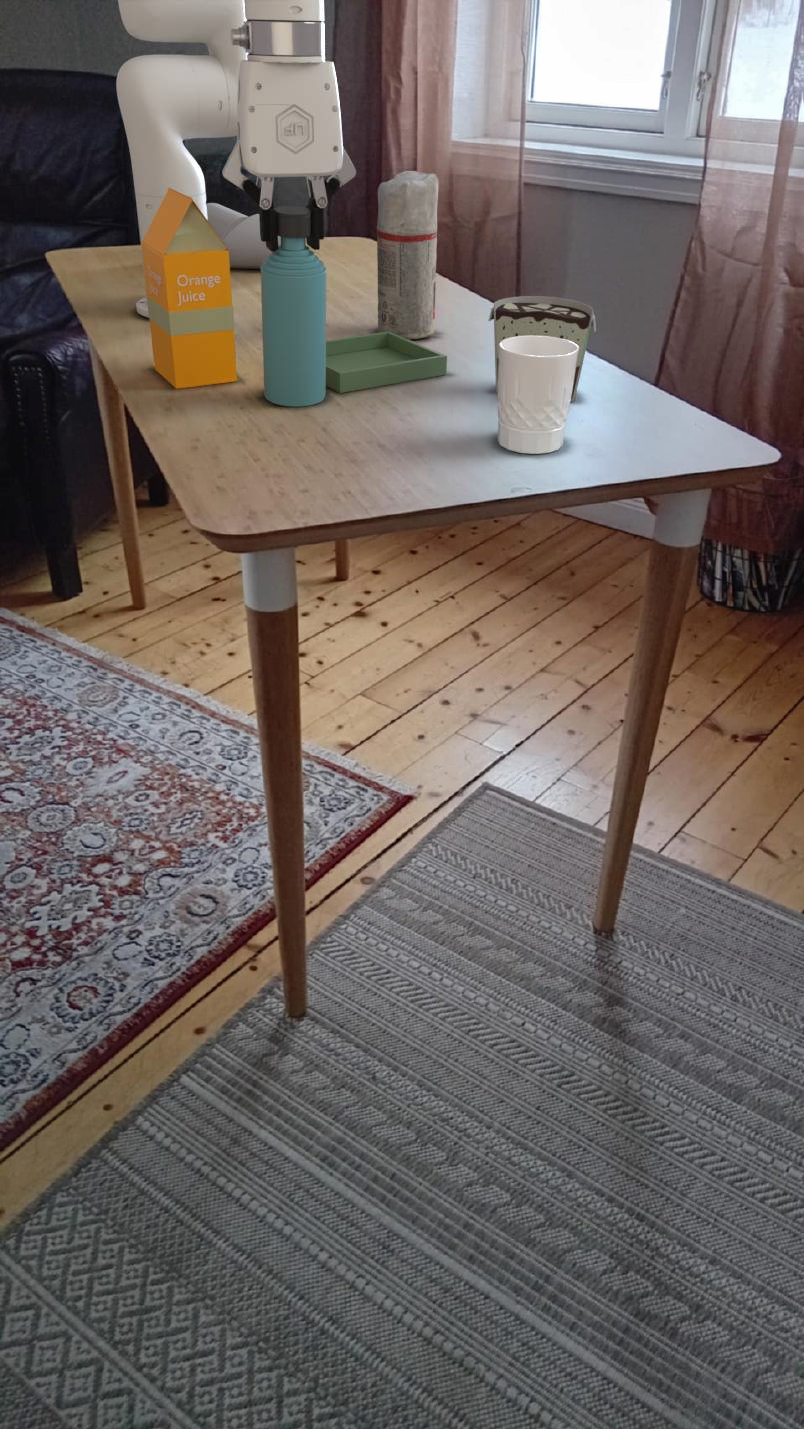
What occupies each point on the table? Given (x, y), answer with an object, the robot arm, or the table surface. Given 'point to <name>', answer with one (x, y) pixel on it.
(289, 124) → the robot arm
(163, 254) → the orange juice
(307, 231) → the cap
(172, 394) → the table surface
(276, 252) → the bottle
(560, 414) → the white cup
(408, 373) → the tray
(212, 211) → the bent grey cylinder
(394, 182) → the spray can
